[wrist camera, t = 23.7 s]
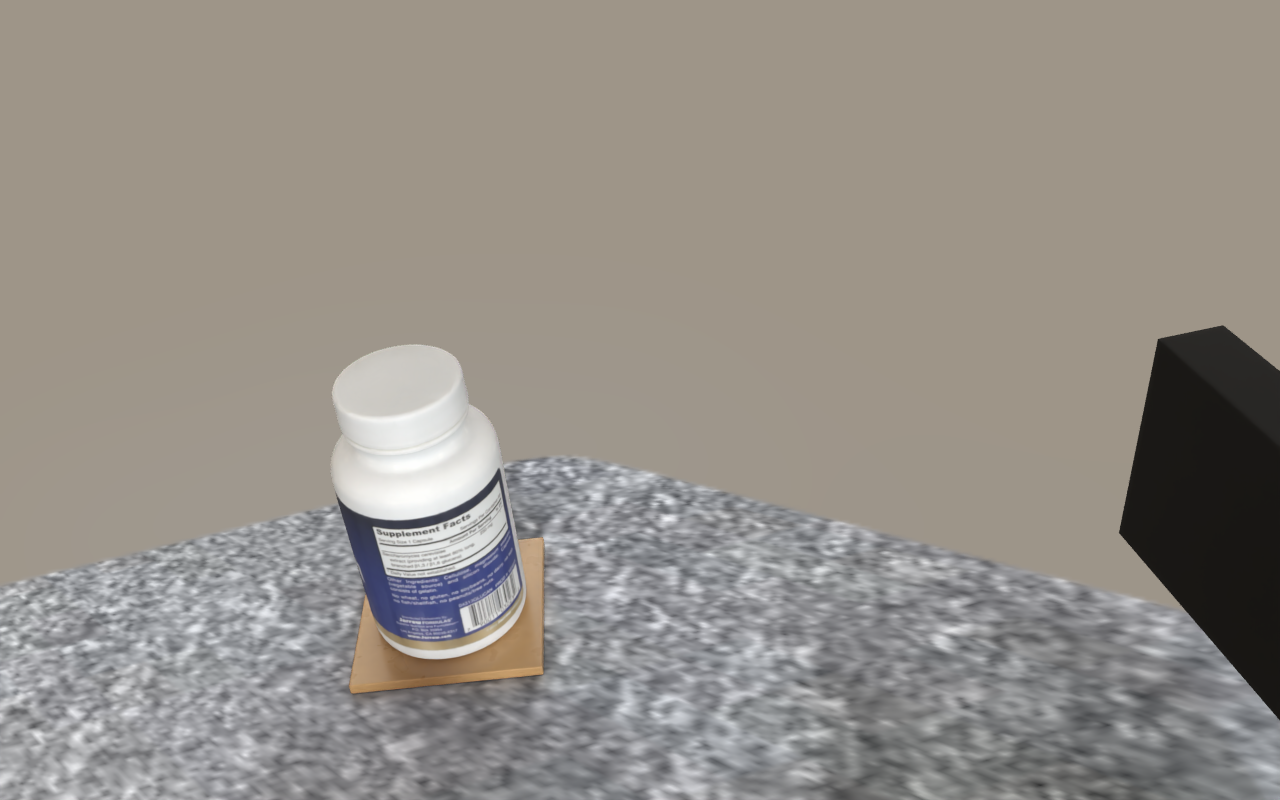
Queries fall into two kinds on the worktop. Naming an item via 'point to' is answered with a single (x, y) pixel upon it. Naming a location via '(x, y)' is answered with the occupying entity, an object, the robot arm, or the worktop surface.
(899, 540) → the worktop surface
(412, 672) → the coaster
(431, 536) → the pill bottle
